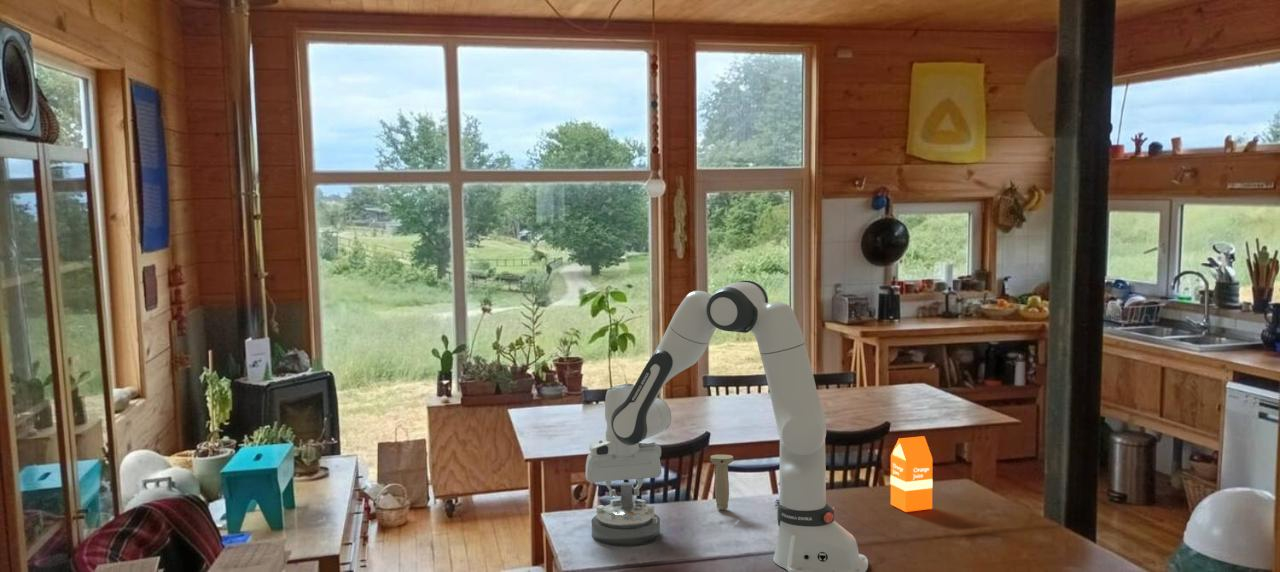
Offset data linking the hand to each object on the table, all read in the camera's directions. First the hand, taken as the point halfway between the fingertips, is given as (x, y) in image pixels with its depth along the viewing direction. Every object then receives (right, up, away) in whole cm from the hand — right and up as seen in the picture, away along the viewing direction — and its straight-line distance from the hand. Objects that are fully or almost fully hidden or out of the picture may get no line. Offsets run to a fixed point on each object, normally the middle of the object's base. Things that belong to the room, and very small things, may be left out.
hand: (624, 495), depth 243 cm
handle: (+28, -8, +18) cm, 34 cm away
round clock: (0, -5, -4) cm, 6 cm away
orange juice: (+82, -7, +17) cm, 84 cm away
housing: (0, -10, -3) cm, 10 cm away
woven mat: (+50, -8, +19) cm, 54 cm away
